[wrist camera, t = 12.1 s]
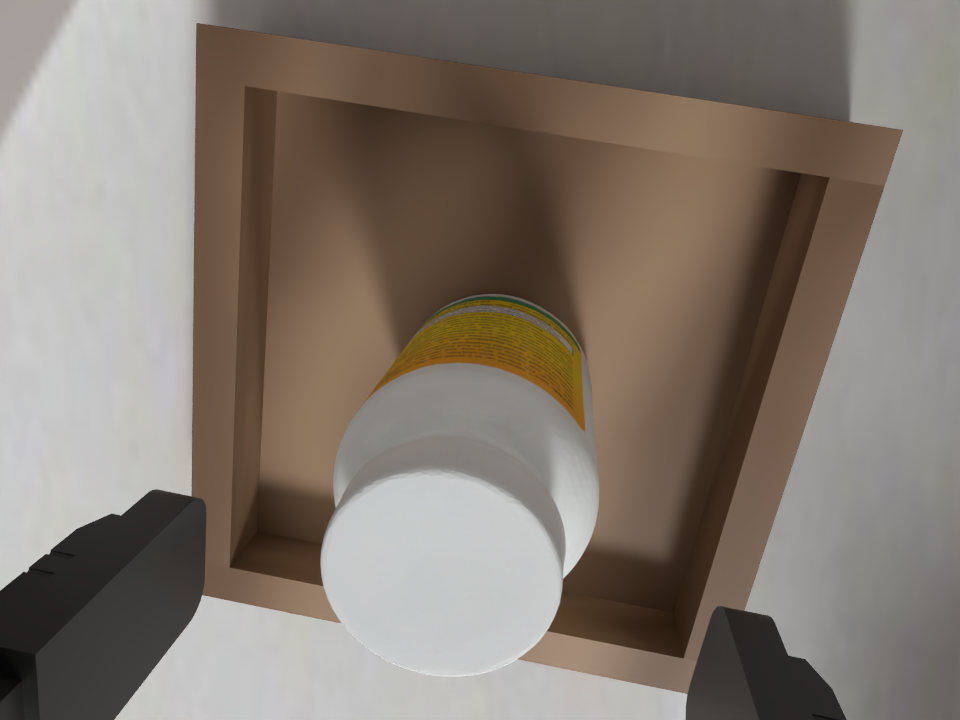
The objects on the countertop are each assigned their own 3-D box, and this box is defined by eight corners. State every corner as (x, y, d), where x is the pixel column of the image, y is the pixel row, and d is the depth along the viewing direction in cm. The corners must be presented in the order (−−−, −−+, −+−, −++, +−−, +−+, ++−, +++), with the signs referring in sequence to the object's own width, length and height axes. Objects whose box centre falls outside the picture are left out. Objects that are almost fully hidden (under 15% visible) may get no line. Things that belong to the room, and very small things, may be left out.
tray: (850, 128, 18) (903, 129, 15) (697, 629, 24) (714, 699, 21) (251, 37, 19) (196, 23, 16) (233, 538, 25) (190, 592, 22)
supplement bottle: (611, 439, 21) (646, 687, 12) (439, 481, 22) (349, 738, 13) (559, 263, 19) (552, 390, 10) (378, 318, 20) (226, 476, 11)
